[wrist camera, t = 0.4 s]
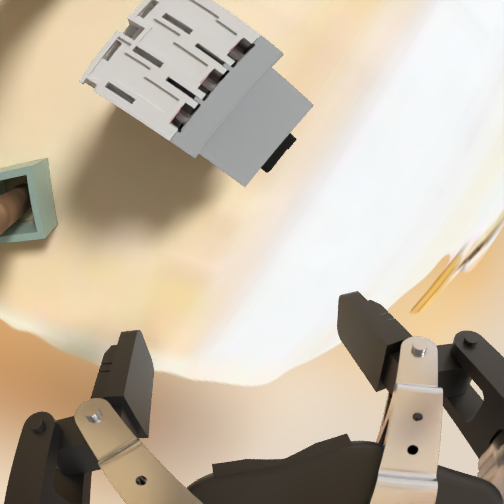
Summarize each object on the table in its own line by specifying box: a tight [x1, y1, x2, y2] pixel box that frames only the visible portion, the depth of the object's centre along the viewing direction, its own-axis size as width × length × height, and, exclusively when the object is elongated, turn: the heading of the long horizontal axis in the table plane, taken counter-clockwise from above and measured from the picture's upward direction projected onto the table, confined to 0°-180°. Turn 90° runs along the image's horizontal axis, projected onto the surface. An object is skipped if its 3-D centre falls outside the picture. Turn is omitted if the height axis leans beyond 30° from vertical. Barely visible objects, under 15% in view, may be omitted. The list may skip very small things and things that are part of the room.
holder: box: [0, 158, 58, 244], centre depth 24 cm, size 8×8×4 cm
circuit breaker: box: [79, 0, 313, 187], centre depth 20 cm, size 8×14×15 cm, turn 50°
